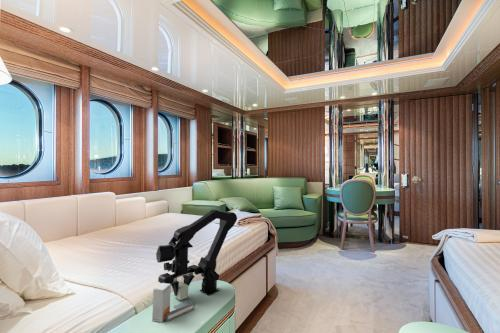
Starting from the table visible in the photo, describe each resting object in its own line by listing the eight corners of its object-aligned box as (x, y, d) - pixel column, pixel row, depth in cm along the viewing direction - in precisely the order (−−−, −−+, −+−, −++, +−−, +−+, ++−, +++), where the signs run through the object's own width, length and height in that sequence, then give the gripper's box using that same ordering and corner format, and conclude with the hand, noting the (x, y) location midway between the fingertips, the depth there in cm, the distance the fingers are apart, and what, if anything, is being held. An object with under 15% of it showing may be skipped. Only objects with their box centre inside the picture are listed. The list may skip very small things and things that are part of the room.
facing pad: (187, 300, 112) (187, 300, 112) (194, 304, 109) (194, 304, 109) (173, 306, 107) (173, 306, 107) (180, 311, 104) (180, 310, 104)
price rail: (191, 308, 106) (191, 302, 106) (193, 309, 105) (193, 303, 105) (165, 320, 97) (165, 313, 97) (167, 321, 96) (167, 315, 96)
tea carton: (180, 292, 117) (180, 281, 117) (188, 296, 113) (188, 285, 113) (172, 295, 114) (172, 284, 114) (180, 300, 110) (180, 288, 110)
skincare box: (162, 322, 96) (163, 290, 96) (151, 321, 97) (152, 289, 97) (170, 314, 102) (171, 283, 102) (160, 312, 103) (161, 282, 103)
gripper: (188, 250, 126) (187, 282, 126) (152, 258, 112) (151, 295, 112) (202, 255, 119) (201, 289, 118) (165, 265, 105) (164, 303, 105)
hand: (180, 293), depth 114 cm, fingers closed on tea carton, 4 cm apart
